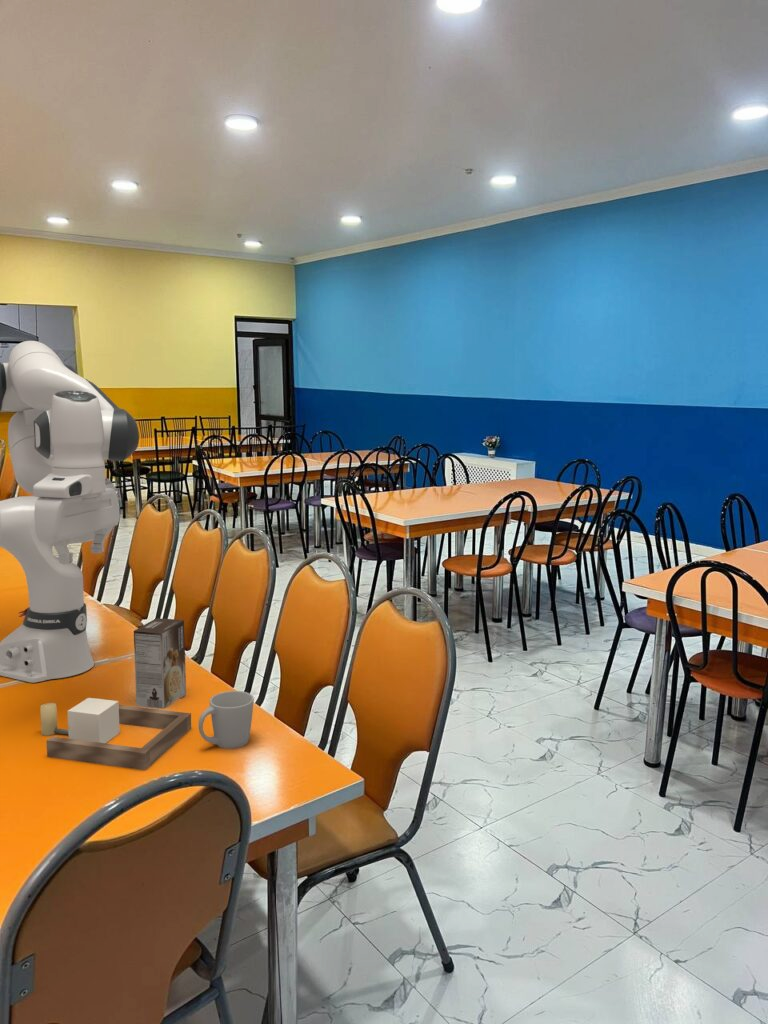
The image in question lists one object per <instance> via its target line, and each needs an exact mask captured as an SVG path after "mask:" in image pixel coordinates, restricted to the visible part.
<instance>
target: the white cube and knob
mask: <svg viewBox="0 0 768 1024" xmlns="http://www.w3.org/2000/svg"><path fill="white" fill-rule="evenodd" d="M119 703H120V702H119V700H111V699H103V698H93V697H87V698H85V699H84V700H82V701H81V702H80V703H78V704H76V705H75V706H73V707H71V708H70V709H68V710H67V712H66V713H67V727H68V728H67V729H64V728H58V711H57V704H56V703H55V702H47V703H44V704H42V705H40V711H39V712H40V724H41V725H40V726H41V729H40V730H41V731H40V732H41V735H42V736H44V737H45V736H47V737H48V736H49V737H50V736H53V735H56V734H61V735H68V739H76V740H84V741H91V742H99V743H106V744H108V742H110V741H111V740H113V739H114V738H115V737H116V736H117V735H119V734H120V732H121V731H120V724H119V705H120V704H119Z"/></svg>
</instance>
